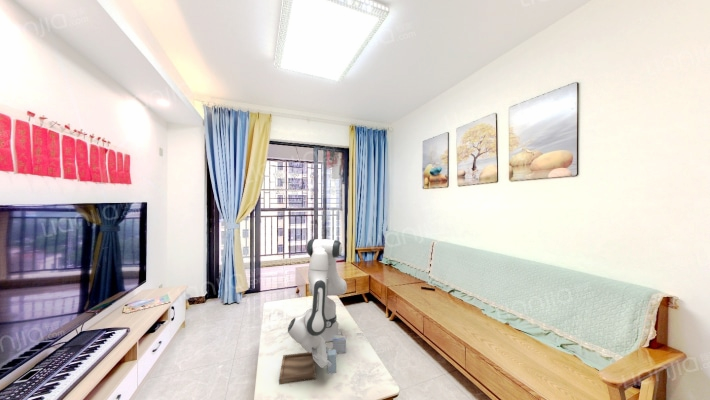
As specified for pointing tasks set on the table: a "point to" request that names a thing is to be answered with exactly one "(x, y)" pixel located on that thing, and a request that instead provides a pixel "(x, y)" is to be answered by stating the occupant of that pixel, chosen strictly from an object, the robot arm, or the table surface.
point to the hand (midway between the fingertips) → (330, 358)
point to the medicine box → (339, 343)
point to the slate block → (331, 357)
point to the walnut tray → (297, 368)
